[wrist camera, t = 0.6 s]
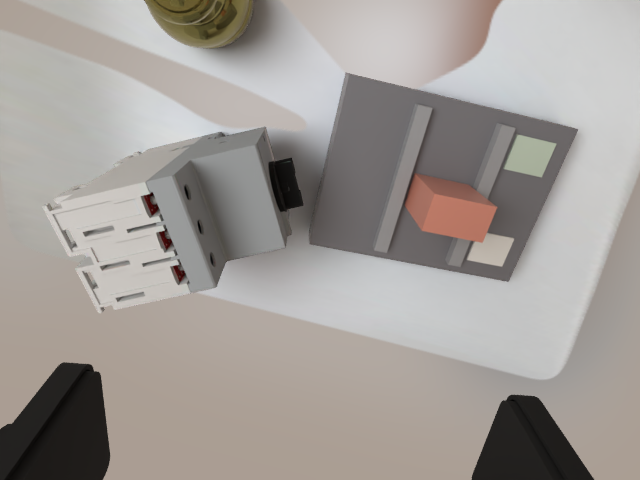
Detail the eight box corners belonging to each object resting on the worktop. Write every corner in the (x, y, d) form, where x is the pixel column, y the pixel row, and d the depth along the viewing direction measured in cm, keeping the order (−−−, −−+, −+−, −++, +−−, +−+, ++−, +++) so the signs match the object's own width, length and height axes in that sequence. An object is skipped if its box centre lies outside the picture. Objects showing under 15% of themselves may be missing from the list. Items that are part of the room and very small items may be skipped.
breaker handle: (414, 172, 36) (434, 193, 31) (468, 184, 37) (497, 207, 31) (404, 205, 37) (421, 230, 32) (456, 216, 38) (482, 242, 32)
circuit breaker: (307, 194, 40) (309, 267, 26) (165, 227, 41) (94, 314, 27) (287, 115, 37) (278, 150, 23) (134, 152, 38) (37, 207, 24)
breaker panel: (345, 72, 36) (350, 74, 32) (558, 124, 38) (585, 131, 34) (309, 231, 41) (309, 248, 38) (495, 267, 44) (513, 286, 40)
